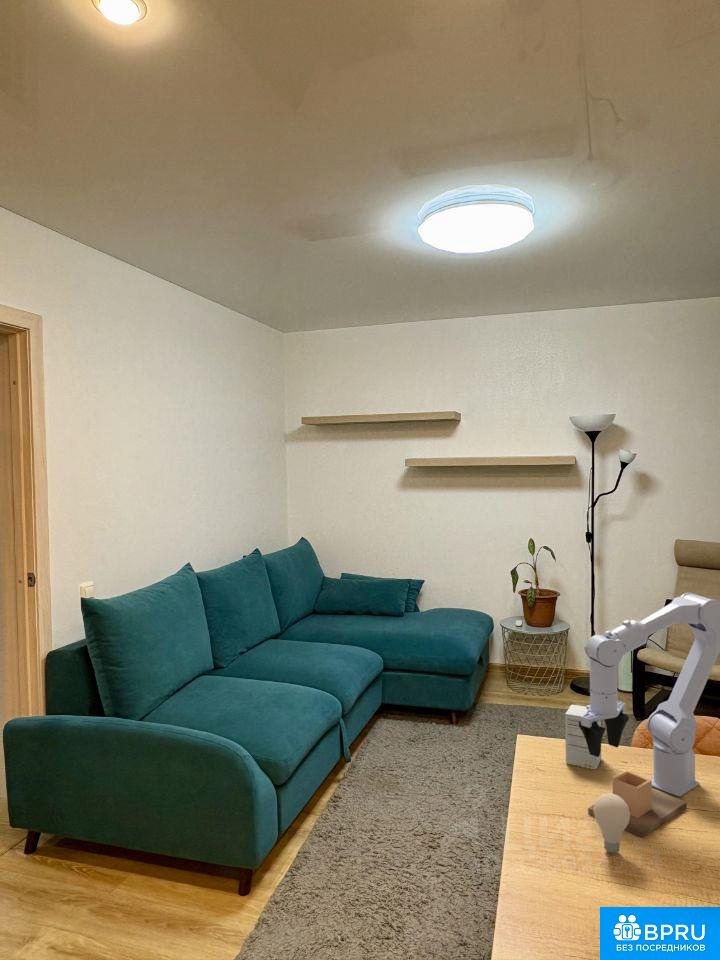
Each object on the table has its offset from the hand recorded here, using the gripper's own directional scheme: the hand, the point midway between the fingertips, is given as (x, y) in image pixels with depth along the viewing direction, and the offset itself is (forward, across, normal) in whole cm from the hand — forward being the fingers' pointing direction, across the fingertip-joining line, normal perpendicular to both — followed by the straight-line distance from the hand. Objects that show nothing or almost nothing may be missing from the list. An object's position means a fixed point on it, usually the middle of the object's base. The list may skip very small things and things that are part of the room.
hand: (604, 750), depth 150 cm
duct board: (+9, +2, +9) cm, 13 cm away
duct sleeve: (+8, +4, +9) cm, 13 cm away
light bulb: (+10, +20, +14) cm, 26 cm away
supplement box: (+10, -10, -12) cm, 18 cm away
